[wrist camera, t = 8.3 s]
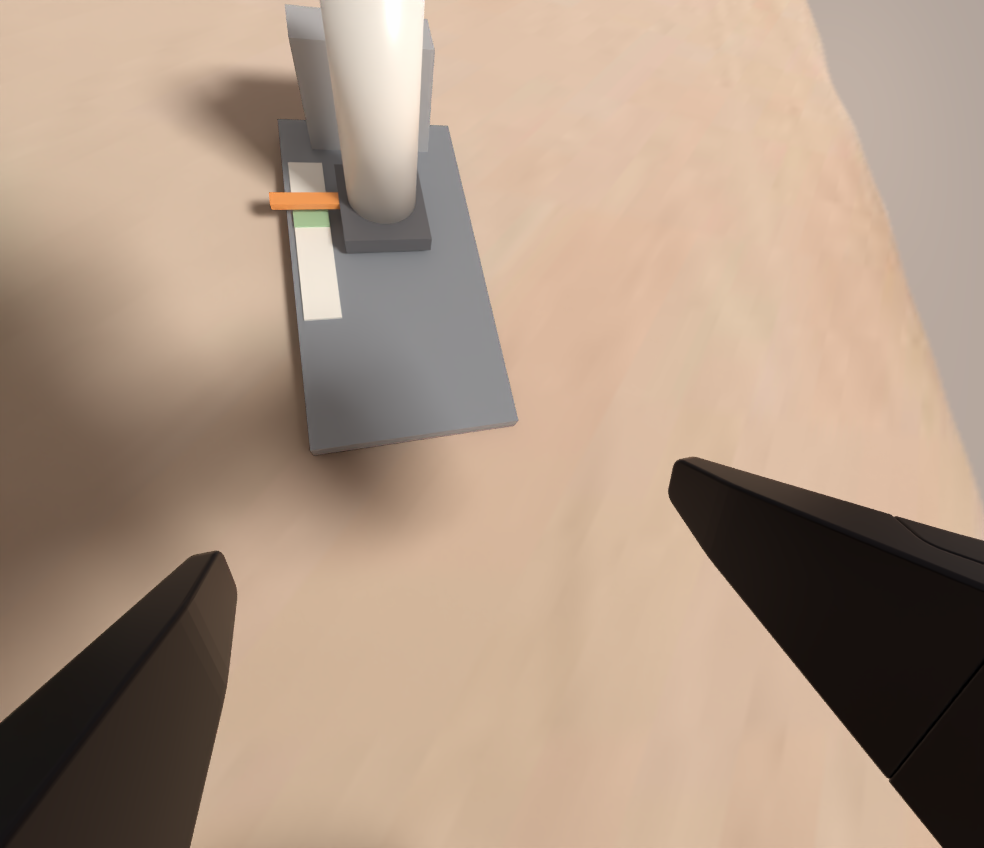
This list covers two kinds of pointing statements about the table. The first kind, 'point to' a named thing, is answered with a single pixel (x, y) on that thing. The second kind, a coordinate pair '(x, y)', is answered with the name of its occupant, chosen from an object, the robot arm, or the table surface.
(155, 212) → the table surface
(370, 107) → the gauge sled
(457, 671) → the table surface
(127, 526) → the table surface
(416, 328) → the gauge board
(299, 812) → the table surface
